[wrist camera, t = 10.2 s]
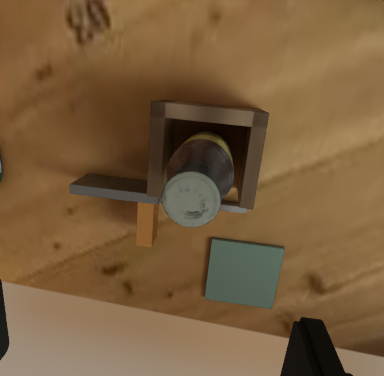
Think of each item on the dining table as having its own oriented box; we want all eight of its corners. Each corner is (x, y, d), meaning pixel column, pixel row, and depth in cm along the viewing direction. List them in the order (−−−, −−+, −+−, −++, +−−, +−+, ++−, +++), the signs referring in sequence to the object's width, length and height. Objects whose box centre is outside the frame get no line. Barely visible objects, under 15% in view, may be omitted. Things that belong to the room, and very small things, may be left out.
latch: (166, 183, 40) (157, 195, 36) (162, 231, 43) (154, 249, 38) (87, 173, 41) (69, 184, 36) (88, 221, 43) (71, 237, 39)
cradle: (261, 109, 36) (269, 113, 30) (245, 209, 41) (249, 231, 34) (102, 93, 38) (76, 93, 31) (103, 191, 42) (79, 209, 35)
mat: (283, 246, 42) (284, 249, 41) (271, 306, 45) (271, 308, 44) (212, 237, 42) (212, 239, 42) (204, 296, 45) (204, 298, 45)
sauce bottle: (219, 183, 40) (212, 264, 21) (176, 165, 40) (130, 230, 21) (240, 138, 38) (253, 182, 19) (194, 119, 38) (162, 144, 19)
